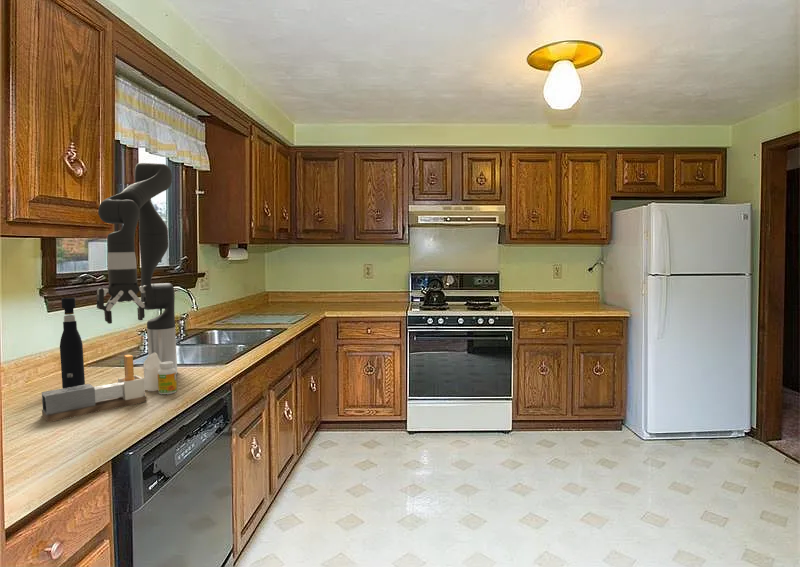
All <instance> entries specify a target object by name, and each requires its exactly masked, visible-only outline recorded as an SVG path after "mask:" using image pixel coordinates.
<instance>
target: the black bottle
mask: <svg viewBox="0 0 800 567" xmlns="http://www.w3.org/2000/svg"><path fill="white" fill-rule="evenodd" d="M60 300H61V309H64V316H63V322H62V325H63V331H62V334H61V336H60V343H59V352H60V353H59V355H60V369H61V385H62V386H61V387H62V388H61V389H63V388H68V387H74V386H80V385H85V384H86V378H85V364H84V363H85V361H84V348H83V346H84V345H83V340H82V337H81V334H80V333H79V330H78V327H77V325H78V324H77V320H76V315H74V314H75V311H74V309H75V308H77V307H76V306H77V304H76V297H62V298H61V299H60Z"/></svg>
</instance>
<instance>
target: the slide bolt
mask: <svg viewBox="0 0 800 567" xmlns="http://www.w3.org/2000/svg"><path fill="white" fill-rule="evenodd" d="M123 365H124V369H123V370H124V377H125V381H130V380H134V376H135V374H134V372H135V371H134V356H133V355H132V354H124V355H123ZM125 381H123V382H118V381H117V382H114V383H109V384H108V383H107V384H102V385H96V386H93V387H94V388H95V402H98V401H103V400H108V399H113V398H118V397H123V396H124V382H125Z"/></svg>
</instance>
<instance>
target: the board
mask: <svg viewBox="0 0 800 567" xmlns="http://www.w3.org/2000/svg"><path fill="white" fill-rule="evenodd" d="M144 401H147V396H146V395H145V396H144V397H139V398H134V399H129V400H124V399H123V398H121V397H118V398H113V399H108V400H103V401H98V402H95V404H96V406H93V407H88V408H83V409H78V410H73V411H68V412H63V413H58V414H53V415H48V416H47V415H46V414H45V413H44V412H43V409H41V416H42V417H43V418H44V419H45V420H46V421H47V423H52V422H57V421H60V420H61V419H62V420H64V419H65V420H66V419H69V418H70V417H71V418H74V416H76V417H81V416H85V415H91V414H94V413H95V414H96V413H99V412H100V413H101V412H104V411H109V410H114V409H119V408H123V407H128V406H132V405H133V406H134V405H137V403H138V404H141V402H143V403H145V402H144ZM80 415H81V416H80ZM56 420H57V421H56Z"/></svg>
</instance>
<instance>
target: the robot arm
mask: <svg viewBox="0 0 800 567" xmlns="http://www.w3.org/2000/svg"><path fill="white" fill-rule="evenodd" d="M172 183H173V174H172V171H171V167H170V166H169V165H167V164H165V163H158V162H138V163H137V164H136V165H135V168H134V183H131V184H130V185H128V186H126V187H124V189H123V190H122V191H121V192H120V193H117V194H114V195H111V196H110V197H109V196H108V197H107V198H105V199H103V200H102V201H101V203H100V204H99V206H98V210H97V212H98V216H99V218H100V220H101V221H102V222H104V223H106V224H110V225H115V224H116V225H122V228H121V229H120V230H118V231H117V230H116V231H113V232H109V233H108V234H107V238H106V239H107V242H106V243H107V272H108V273H107V274H108V275H107V276H108V288H100V287H99V288H97V289H96V308H97V309H98V310H102V311H104V312H103V313H104V314H103V315H104V321H105V322H106V323H107V324H108V325H109V324H113V318H112V314H113V313H112V309H113V307H114V306H115V305H116V304H117V303H124V302H131V301H132V302H133V303H135V305H137V309H136V310H137V320H138V321H144V319H145V317H146V316H145V313H146V312H145V310H146V311H149V310H150V311H151V310H152V311H153V310H162V309H163V312H162V313H161V314H160V315H157V316H155V317H153V318H151V319H148V320H147V322H146V329H147V331H146V332H147V333H146V334H147V349H148V350H147V351H148V356H149V355H151V354H152V353H154V352H155V353H157V355H158V358H159V360H160V361H161V362H165V361H172V362H173V368H174V369H175V370H176V375H177V374H178V356H177V355H178V353H177V339H176V335H177V334H176V321H175V320H176V318H175V314H176V313H175V302H176V301H175V299H176V298H175V296H176V294H175V287H174V286H173V284H172V283H170V282H165V283H164V282H161V283H160V282H159V283H152V279H153V276H154V272H155V269H156V268H157V267H158V265H159V263H160V262H161V260H162V259H163V258H164V256H165V254H166V252H167V251H168V247H169V232H168V227H167V224H166V223H165V221H164V219H163V218H162V216H161V215H160V214H159V213H158V211H157V210H156V208H155V207H154V204H153V202H152V199H153V198H155V197H156V196H158V195H160V194H161V193H163V192H166V191H167V190H168V189H169V188H170V187H171V186H172ZM137 226H138V239H139V240H138V241H139V242H138V243H139V253H140V286H139V284H138V270H137V257H136V252H135V251H136V248H135V236H136V230H137ZM139 292H140V298H139V296H138V295H137V294H138V293H139ZM107 294H109V296H110V298H109V299H108V300H107V303H106V304H105V303H104V302H105V297H106V296H107ZM104 304H105V305H104Z"/></svg>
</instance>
